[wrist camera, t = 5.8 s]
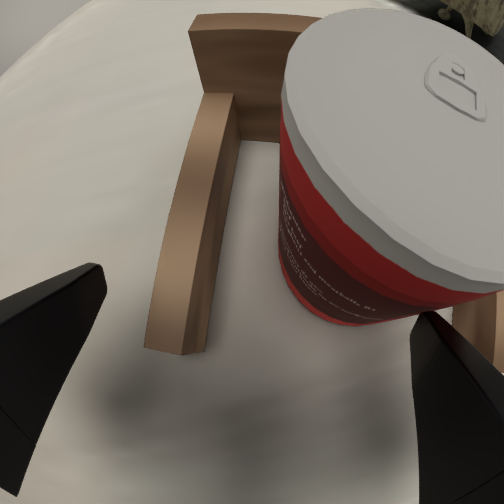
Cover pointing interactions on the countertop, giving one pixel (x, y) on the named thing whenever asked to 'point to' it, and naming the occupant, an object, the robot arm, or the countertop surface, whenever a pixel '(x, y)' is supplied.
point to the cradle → (222, 172)
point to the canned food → (390, 168)
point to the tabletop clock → (477, 14)
